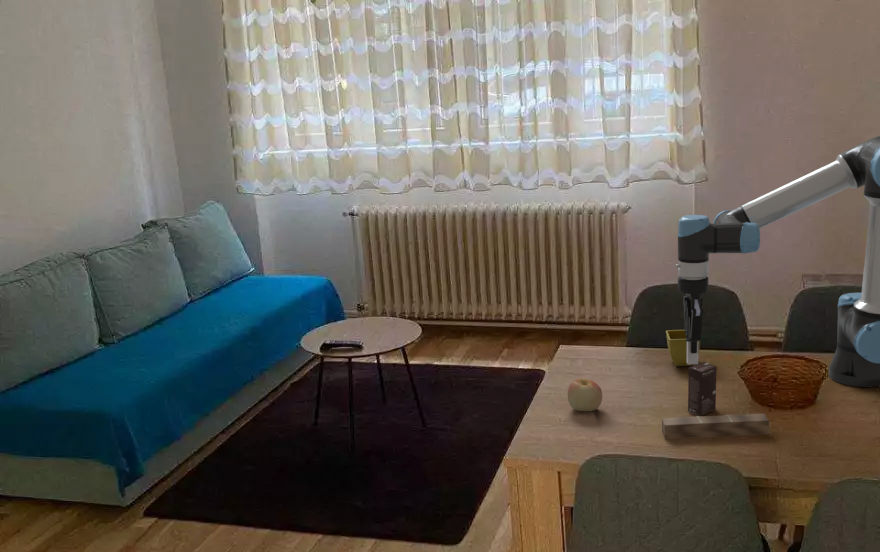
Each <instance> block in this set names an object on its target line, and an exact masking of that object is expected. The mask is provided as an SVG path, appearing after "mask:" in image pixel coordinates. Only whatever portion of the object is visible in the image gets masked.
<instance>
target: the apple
mask: <svg viewBox="0 0 880 552" xmlns="http://www.w3.org/2000/svg"><path fill="white" fill-rule="evenodd" d="M567 399H568V403H569V405H570V407H571V408H572V409H573V410H575V411H579V412H593V411H594V412H595V411H596V410H597V409H599V407H600V406H601V404H602V402H603V392H602V388H601V387H600V386H599V384H598V383H596V382H595V381H593V380H592V379H591V380H590V379H587V378H576V379H575V380H573V381H572V382H571V383H569V385H568V390H567Z"/></svg>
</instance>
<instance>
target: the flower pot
mask: <svg viewBox="0 0 880 552" xmlns="http://www.w3.org/2000/svg"><path fill="white" fill-rule="evenodd" d="M665 334H666V343H667V348H668V353H669V355H670V358H671V360H672V362H673V364H674V366H676V367H692V366H694V365H695V364H689V365H688V364H687V342H686V338H687V337H686V334H685V329H672V330H665ZM700 347H701V341H699V350H698V357H699V354H700V349H701V348H700Z"/></svg>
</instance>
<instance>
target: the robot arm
mask: <svg viewBox="0 0 880 552" xmlns="http://www.w3.org/2000/svg"><path fill="white" fill-rule="evenodd" d="M863 186H864V189H863V197H864V198H865V199H866V200H867V201H868V202H869V208H868V209H869V210H868V211H869V212H868V222H867V233H866V243H865V253H864V262H863V263H864V264H863V273H862V275H863V276H862V284H861V285H862V286H861V292H849V293H844V294H842V295H840V297H839V298H838V303H837V331H836V332H837V335H836V337H837V338H836V350H835V351H834V354H833V357H832V359H831V362H830V364H829V366H828V367H829V368H828V376H829V378H830V379H831V380H833V381H834V382H837V383H839V384H842V385H846V386H851V387H860V388H876V387H880V135H879V136H875V137H872V138H869V139H867V140H866V141H865V140H864V142H861V143H859V144H858V145H856V146H853V147H852V148H849V149H848V150H845V151H844V152H842V153H839V154H838V155H837V156H836V159H835V161H832V162H830V163H828V164H825V165H824V166H822V167H819V168H818V169H815V170H813V171H811V172H809V173H808V174H805V175H803V176H801V177H799V178H797V179H794V180H792V181H791V182H788V183H786V184H784V185H782V186H780V187H779V188H778V187H777V188H776V189H773V190H771V191H769V192H767V193H766V194H763V195H761V196H759V197H757V198H756V199H755V198H754V199H753V200H751V201H748V202H746V203H745V204H743V205H741V206H739V207H736V208H734V209H731V210H728V209H727V210H723V211H720V212H719V213H718V214H717V215H716V216H715V217H714V219H713V223H712V222H710V218H709V216H707V215H704V214H687V215H683V216H681V217H680V218H679V220H678V226H677V227H678V229H677V262H678V263H677V264H675V268H676V269H677V274H678V277H677V290H678V292H679V293H682V294H685V295H684V296H682V300H683V301H682V302H683V316H684V318H683V319H684V330H685V334H686V337H687V338H686V342H687V364H688V365H689V364H694V365H696V364H699V356H698V350H699V351H700V349H699V341H700V342H701V340H702V325H703V315H704V309H703V308H702V306H703V298H701V295H702V294H705V293H707V292H708V291H709V277H708V275H710V274H709V273H710V257H709V256H710V254H743V255H744V254H749V253H756V252H759V249H760V245H761V230H760V229H762V228H765V227H767V226H769V225H772V224H774V223H776V222H777V221H780V220H781V219H784V218H786V217H789V216H791V215H793V214H795V213H797V212H800V211H802V210H803V209H806V208H808V207H810V206H812V205H814V204H817V203H818V202H821V201H823V200H825V199H828V198H829V197H831V196H834V195H836V194H838V193H840V192H843V191H844V190H846V189H849V188H851V189H855V190H856V189H859V188H862V187H863Z"/></svg>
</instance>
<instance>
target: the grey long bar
mask: <svg viewBox="0 0 880 552" xmlns="http://www.w3.org/2000/svg"><path fill="white" fill-rule="evenodd" d="M769 426H770V420H769V419H768V417H767V415H766V414H765V413H748V414H747V413H746V414H725V415H705V416H703V415H701V416H699V415H696V416H685V417H684V416H683V417H682V416H681V417H680V416H679V417H663V418H661V432H662V435H663V437H664V439H666V440H668V439H689V438H690V439H691V438H714V437H716V438H717V437H733V436H735V437H736V436H737V437H739V436H754V435H755V436H756V435H757V436H758V435H759V436H761V435H769V434H770V432H769V431H770V429H769V428H770V427H769Z"/></svg>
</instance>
